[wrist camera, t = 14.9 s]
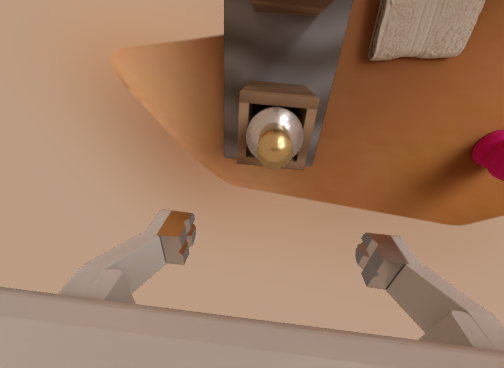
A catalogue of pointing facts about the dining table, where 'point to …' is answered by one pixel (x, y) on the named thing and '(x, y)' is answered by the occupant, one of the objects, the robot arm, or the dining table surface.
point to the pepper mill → (491, 153)
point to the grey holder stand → (280, 67)
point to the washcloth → (423, 28)
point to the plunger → (274, 136)
